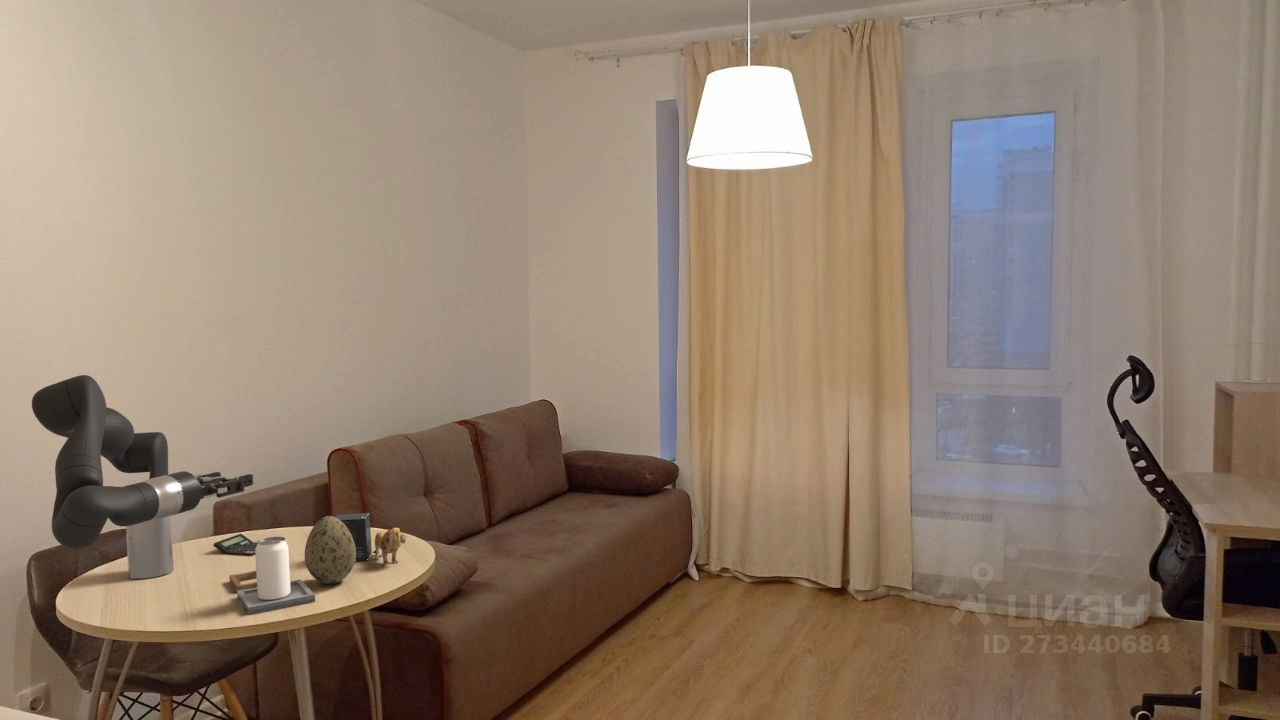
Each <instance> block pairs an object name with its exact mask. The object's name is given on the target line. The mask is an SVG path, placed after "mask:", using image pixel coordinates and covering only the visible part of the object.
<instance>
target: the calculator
mask: <svg viewBox="0 0 1280 720" xmlns="http://www.w3.org/2000/svg"><path fill="white" fill-rule="evenodd" d="M256 546H257V541H256V542H254V541H252V540H251V539H250V538H248V537H247V536H246V535H244V534H243V533H238V534H236V535H233V536H230V537H227V538H224V539H222V540H220V541H217V542H214V543H213V547H214V548H215V549H217V550H218V551H220V552H221V553H223V554H224V555H228V556H243V557H244V556H245V557H253V556H255V549H256Z"/></svg>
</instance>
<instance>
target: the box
mask: <svg viewBox="0 0 1280 720" xmlns="http://www.w3.org/2000/svg"><path fill="white" fill-rule="evenodd" d="M335 517H336V518H338V519H339V520H340V521H342V522H343V523H344V524H345V526H346V527H347V528H348V530H349V531H350V533H351V535H352V537H353V540H354V543H355V548H356V559H355V560H364V561H368V560H369V559H370V558H369V556H370V555H371V554H372V553H373V549H372V548H373V547H372V534H371V532H372V531H371V518H370V512H365V513H348V514H337V515H336V516H335ZM371 556H372V555H371ZM371 556H370V557H371ZM368 558H369V559H368ZM367 559H368V560H367Z"/></svg>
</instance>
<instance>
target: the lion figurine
mask: <svg viewBox="0 0 1280 720" xmlns="http://www.w3.org/2000/svg"><path fill="white" fill-rule="evenodd" d="M407 539H408V536H407V535H406V534H404V533H403V532H402V531H400V527H393V528H390V529H387V531H385V530H380V531H378V532H376V535H375V538H374V547H375V550H373V551H372V553H373V554H375V555H374V559H379V560H380V558H379V553H380V551H379V550H381V554H382V555H381V556H382V561H383V563H382V566H383V565H387V564H388V565H389V561H388V554H391V562H392V563H393V562H394V563H395V562H398V563H399V561H398V560H396V558H397V552H398V550H399V549H400V548H401V544H403V545H405V544H406V541H407ZM374 559H373V560H374ZM394 563H393V564H394ZM395 564H396V563H395Z"/></svg>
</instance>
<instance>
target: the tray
mask: <svg viewBox="0 0 1280 720" xmlns="http://www.w3.org/2000/svg"><path fill="white" fill-rule="evenodd" d="M290 587H291V592H290V594H289V595H288V596H287V597H285V598H282V599H278V600H271V601H266V600H261V599H260V598H259V597H258V590H257V587H256V588H251V589H246V590H240V591H237V592H236V594H237V596H236V597H237V600H238V601H239V602H240V603H241V606H242V607H243V609H244V610H245V611H246V613H247V615H248V616H250V615H255V614H259V613H265V612H270V611H275V610H279V609H280V610H281V609H286V608H290V607H296V606H299V605H300V606H301V605H305V604H310V603H311V604H312V603H315V602H316V594H315V593H314V592H313V591H312V590H311V589H310V588H309V587H308V585H306V584H305V583H304V581H302V579H296V580H290Z"/></svg>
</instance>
